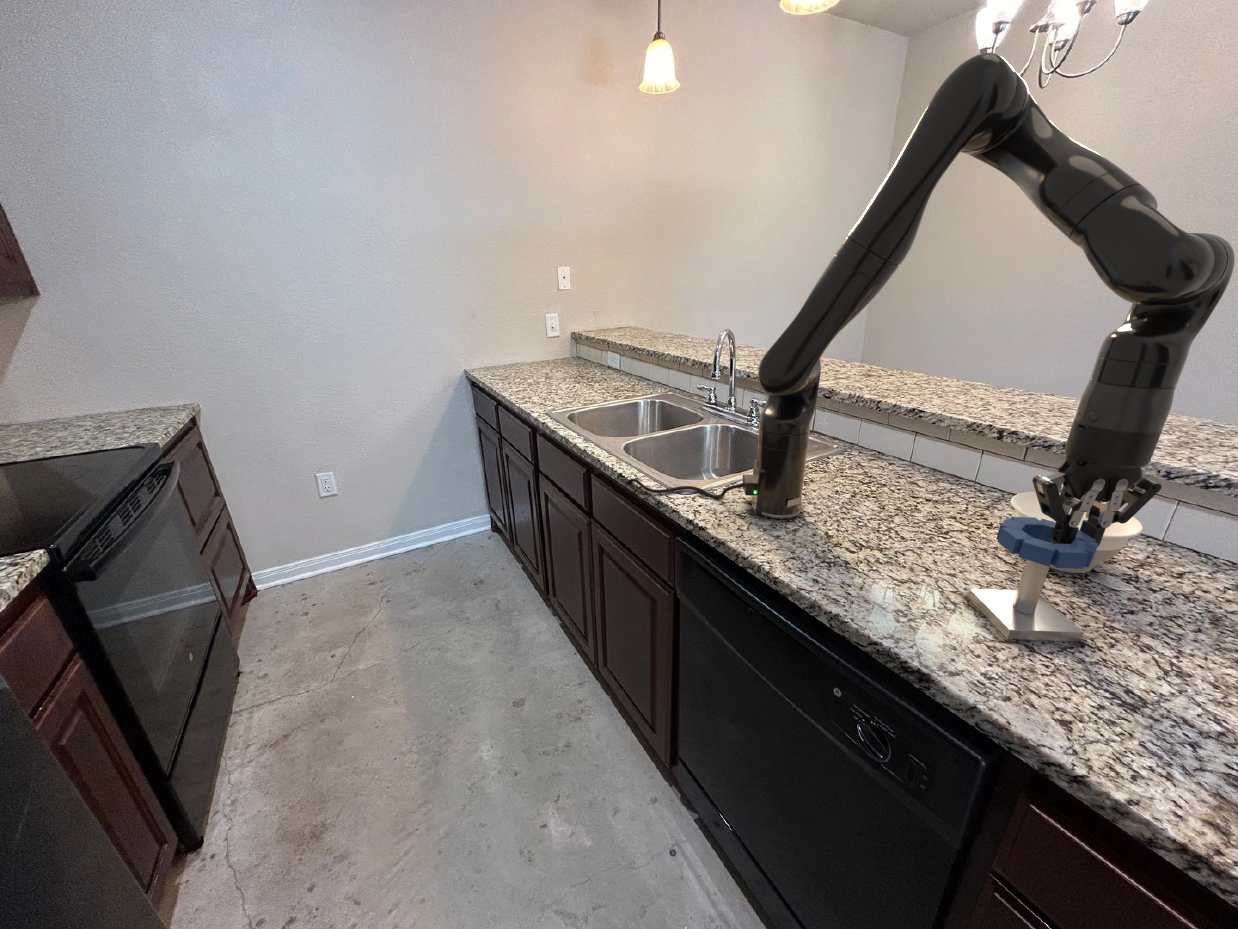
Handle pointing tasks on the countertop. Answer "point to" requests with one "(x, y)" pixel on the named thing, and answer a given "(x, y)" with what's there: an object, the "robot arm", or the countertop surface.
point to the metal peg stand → (1025, 609)
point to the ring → (1045, 543)
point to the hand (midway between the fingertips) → (1072, 548)
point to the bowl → (1111, 539)
